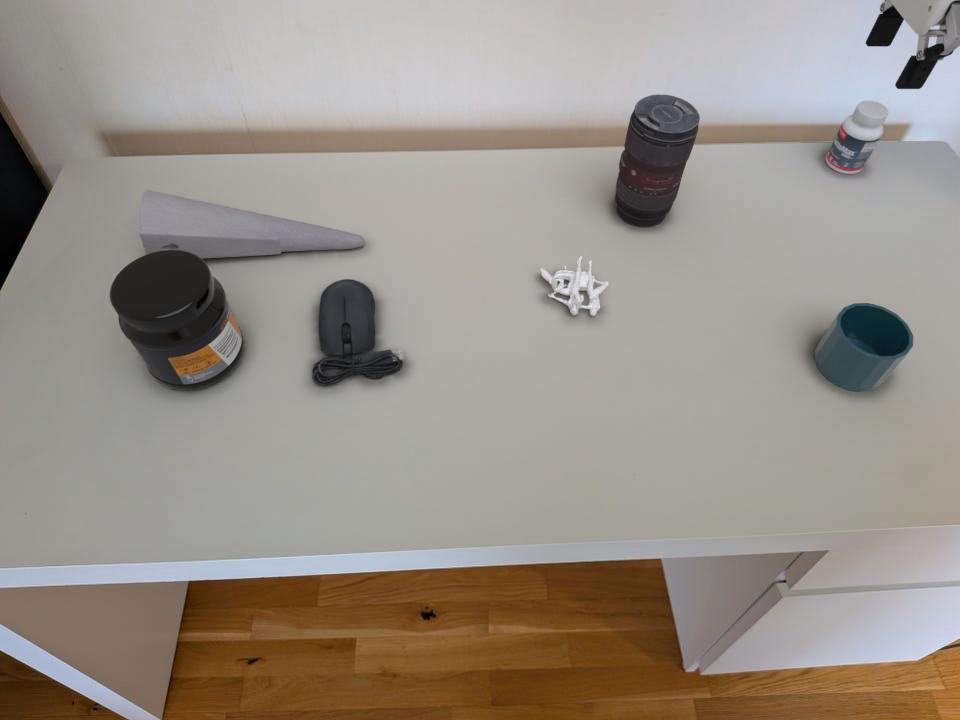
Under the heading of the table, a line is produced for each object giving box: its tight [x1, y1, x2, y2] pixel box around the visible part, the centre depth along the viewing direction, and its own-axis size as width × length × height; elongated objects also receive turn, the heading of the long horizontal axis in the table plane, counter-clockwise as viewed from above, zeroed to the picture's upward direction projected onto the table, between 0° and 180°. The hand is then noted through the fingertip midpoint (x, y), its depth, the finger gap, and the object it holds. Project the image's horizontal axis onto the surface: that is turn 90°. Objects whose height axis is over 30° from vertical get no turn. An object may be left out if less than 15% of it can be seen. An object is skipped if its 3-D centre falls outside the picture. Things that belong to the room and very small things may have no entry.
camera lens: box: [614, 93, 701, 228], centre depth 85 cm, size 8×8×15 cm
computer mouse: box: [311, 278, 405, 387], centre depth 77 cm, size 10×15×4 cm
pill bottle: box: [825, 100, 889, 175], centre depth 94 cm, size 5×5×9 cm
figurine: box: [539, 255, 610, 317], centre depth 81 cm, size 3×8×8 cm
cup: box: [814, 302, 914, 393], centre depth 74 cm, size 8×8×6 cm
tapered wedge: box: [139, 189, 365, 260], centre depth 86 cm, size 8×9×26 cm
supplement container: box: [109, 250, 245, 391], centre depth 71 cm, size 10×10×12 cm
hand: (891, 65), depth 86 cm, fingers open, 9 cm apart
